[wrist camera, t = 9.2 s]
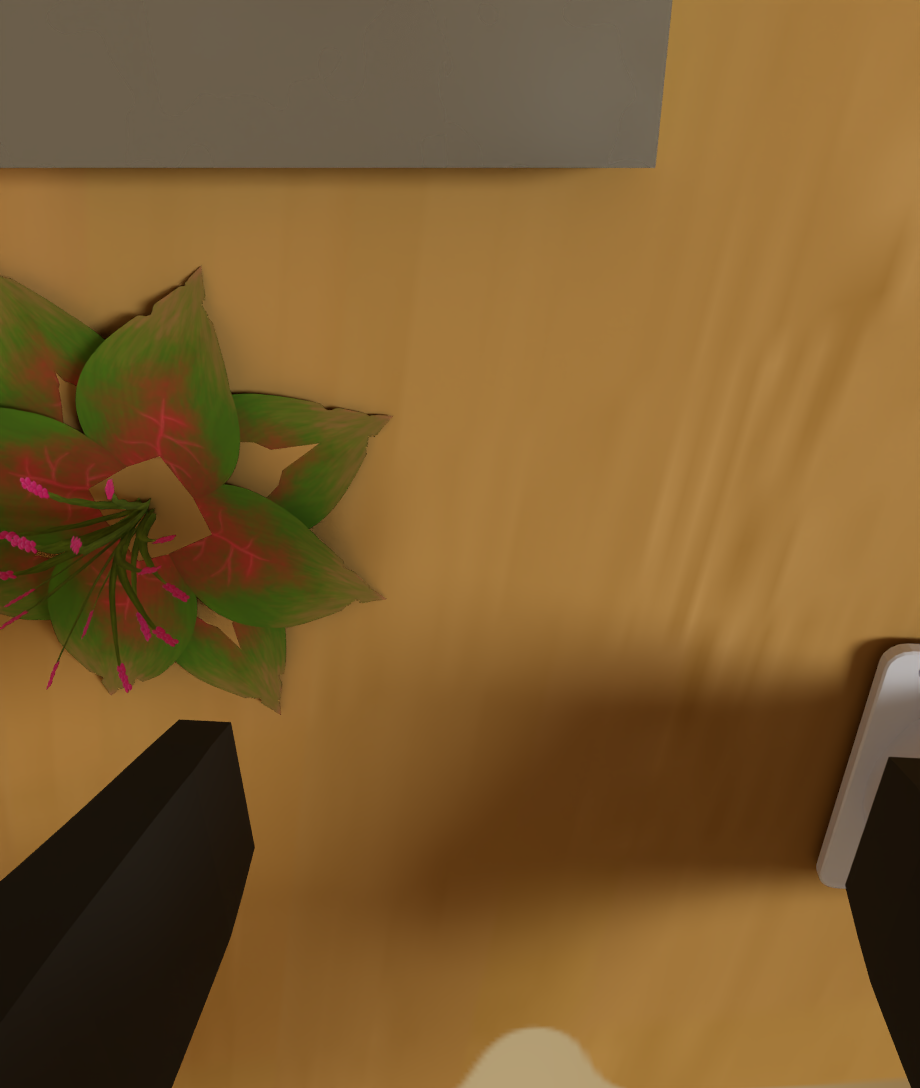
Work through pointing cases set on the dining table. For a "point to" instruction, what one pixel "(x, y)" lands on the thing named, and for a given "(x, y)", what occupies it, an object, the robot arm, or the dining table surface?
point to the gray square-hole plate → (331, 83)
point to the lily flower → (196, 460)
